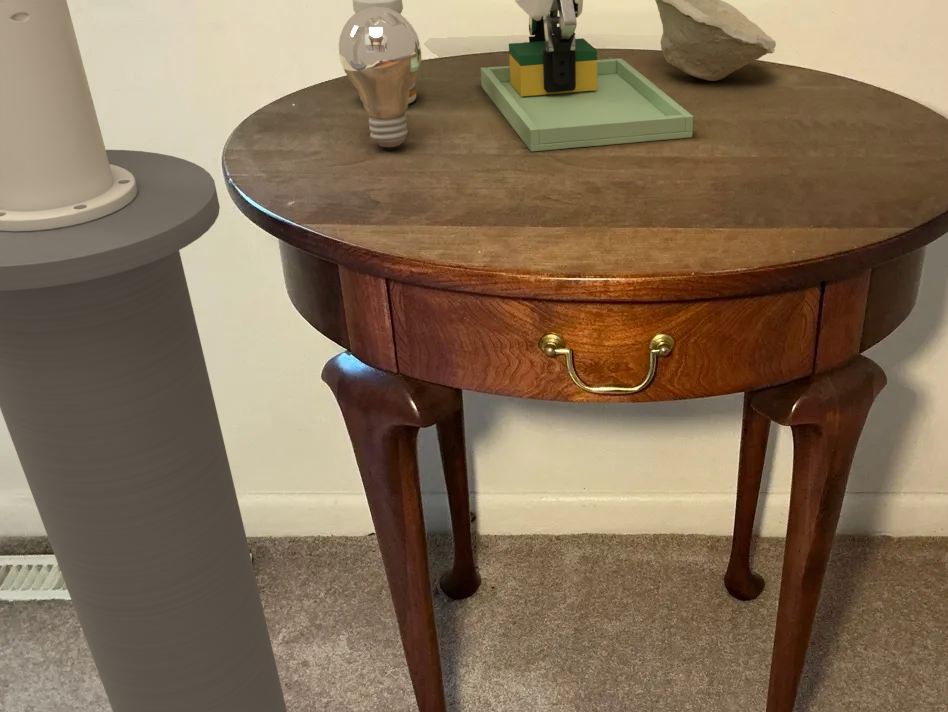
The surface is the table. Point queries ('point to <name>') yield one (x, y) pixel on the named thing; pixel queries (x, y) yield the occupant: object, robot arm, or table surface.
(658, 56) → the table surface
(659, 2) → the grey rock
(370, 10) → the light bulb
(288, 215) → the table surface
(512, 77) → the sponge
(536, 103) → the tray
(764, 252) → the table surface
